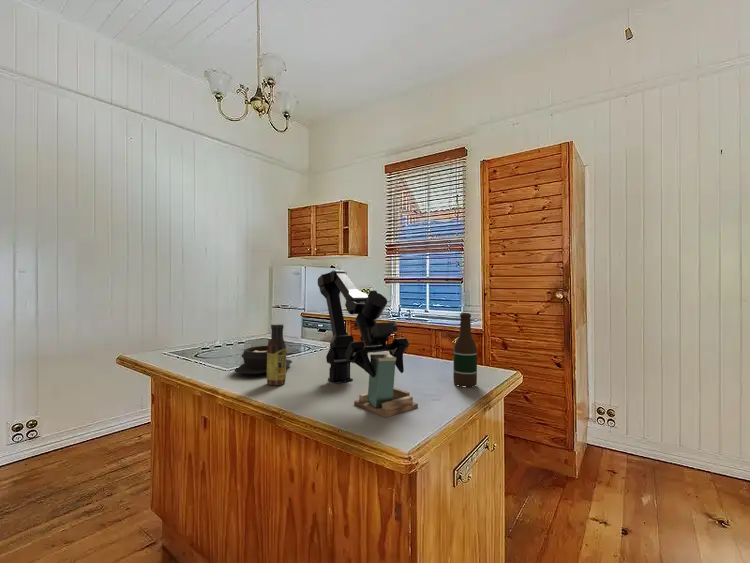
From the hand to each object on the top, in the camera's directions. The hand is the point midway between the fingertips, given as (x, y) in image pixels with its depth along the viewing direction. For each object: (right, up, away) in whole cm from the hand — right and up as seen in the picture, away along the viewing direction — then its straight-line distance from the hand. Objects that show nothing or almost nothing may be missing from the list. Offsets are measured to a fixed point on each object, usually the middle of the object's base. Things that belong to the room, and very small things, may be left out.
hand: (388, 374), depth 104 cm
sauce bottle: (-37, -9, +23) cm, 44 cm away
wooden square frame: (-1, -9, +1) cm, 9 cm away
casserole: (-46, -9, +42) cm, 63 cm away
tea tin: (-2, -8, -1) cm, 8 cm away
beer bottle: (+26, -9, +23) cm, 37 cm away
